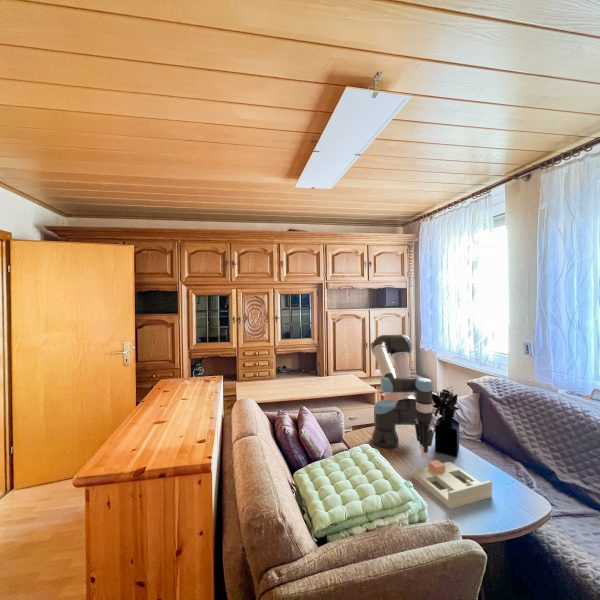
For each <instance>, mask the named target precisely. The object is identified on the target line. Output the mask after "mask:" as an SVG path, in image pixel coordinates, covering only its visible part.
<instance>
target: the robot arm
mask: <svg viewBox="0 0 600 600" xmlns="http://www.w3.org/2000/svg"><path fill="white" fill-rule="evenodd" d="M412 346H413V345H412V341H411V339H410V337H409V336H408V335H406V334H383V335H382V334H381V335H378V336H377V337H376V338H375V339H374V340H373V342H372V343H371V353H372V355H373V356H374V357H375V359H376V363H377V365H378V368H379V371H380V373H381V376H382V377H381V379H380V390H381V391H382V392H383V393H390V394H392V393H394V394H395V393H398V398H397V399H396V401H394V400H392V399H380V400H378V401H377V402H375V404H374V409H373V412H374V428H373V433H372V435H371V442H372V444H373V445H374V446H376V447H378V448H381V449H388V450H389V449H395V448H398V446H399V444H400V439H399V436H398V433H397V428H396V426H414V428H415V435H416V436H415V437H416V440H417V442H419V445H420V446H419V447H420V459H423V460H424V459H428V453H429V447H431V446H432V445H433V444H432V443H433V438H434V436H435V428H433V427H432V420H433V400H432V394H433V381H432V380H431V379H430V378H425V377H419V376H417V375H411V369H410V363H409V357H410V354H411V353H412V351H413V347H412ZM391 359H393V363H392V361H391ZM393 365H394V366H393Z"/></svg>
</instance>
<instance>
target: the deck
mask: <svg viewBox="0 0 600 600" xmlns="http://www.w3.org/2000/svg"><path fill="white" fill-rule="evenodd" d="M441 463H442V462H441ZM442 464H444V465H445V472H442V473H438V474H436V473H434V472H433V471H432V470H431V469H429V468H428V466H426V467H425V466H424V467H420V468H417V469H412V470H411V476H412V477H411V478H413V479H414V480H415V481H417V482H418V483H419V484H420V485H421V486H422V487H424V488H425V489H426V490H427V491H429V493H431V494H432V495H433V496H434V497H435V498H437V499H438V500H439V501H440V502H441V503H442V504H443V505H445V506H446V507H447V508H448V509H450V510H452V509H455V508H459V507H463V506H466V505H469V504H472V503H476V502H479V501H482V500H486V499H489V498H492V497H493V495H492V494H493V493H492V492H493V488H492V487H493V483H492V480H486V481H482V482H481V481H479V480H478V479H477V478H475V477H473V476H472V475H470V474H469V473H467V471H464V470H463V469H461V468H460V467H458V466H457V465H455V464H454V463H452V462H451V461H446V462H445V461H444V462H443V463H442Z"/></svg>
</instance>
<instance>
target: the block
mask: <svg viewBox="0 0 600 600" xmlns="http://www.w3.org/2000/svg"><path fill="white" fill-rule="evenodd" d="M427 463H428V466H427V467H428V468H429V469H431V470H432V471H433V472H434V473H436V474H438V473H442V472H445V465H444V464H442V462H441V461H440V460H438V459H434V460H430V461H428V462H427Z"/></svg>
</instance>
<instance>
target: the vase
mask: <svg viewBox="0 0 600 600" xmlns="http://www.w3.org/2000/svg"><path fill="white" fill-rule="evenodd" d="M452 388H453V387H452V386H450V387H446V388H442V391H440V392H439V391H437V393H436V394H434V393H432V403H434V405H432V408H434V409H436V410H435V412H434V417H435V418H437V415H438V414H439V416H440V417H439V418H437V420H436V422H435V424H434V429H435V432H434V453H438V454H442V455H444V456H445V455H446V456H451V457H454V458H458V455H459V451H460V422H459V420H456V419H455V415H456V414H455V413H456V411H458V410H460V407H458V406H456V405H457V403H458V394H454V393H453V391H454V390H453V389H452ZM449 389H451V390H449Z"/></svg>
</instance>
